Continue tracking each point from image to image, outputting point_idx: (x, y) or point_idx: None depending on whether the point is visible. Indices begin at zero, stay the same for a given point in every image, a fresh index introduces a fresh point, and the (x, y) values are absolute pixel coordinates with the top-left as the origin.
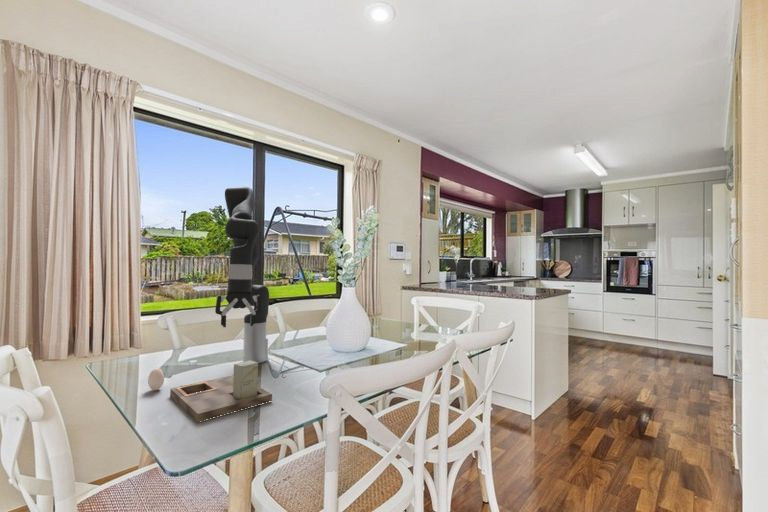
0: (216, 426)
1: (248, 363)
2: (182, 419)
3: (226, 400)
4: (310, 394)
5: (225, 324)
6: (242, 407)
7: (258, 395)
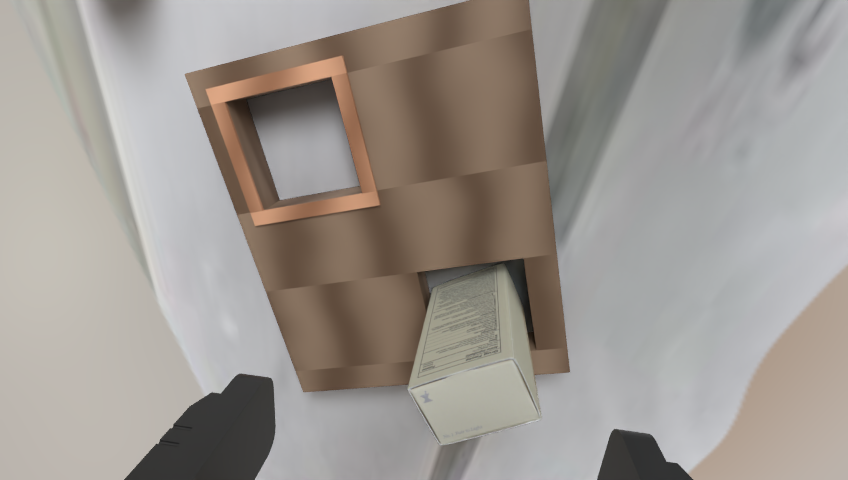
0: (360, 416)
1: (484, 414)
2: (273, 326)
3: (397, 339)
4: (739, 364)
5: (252, 474)
6: None
7: None
